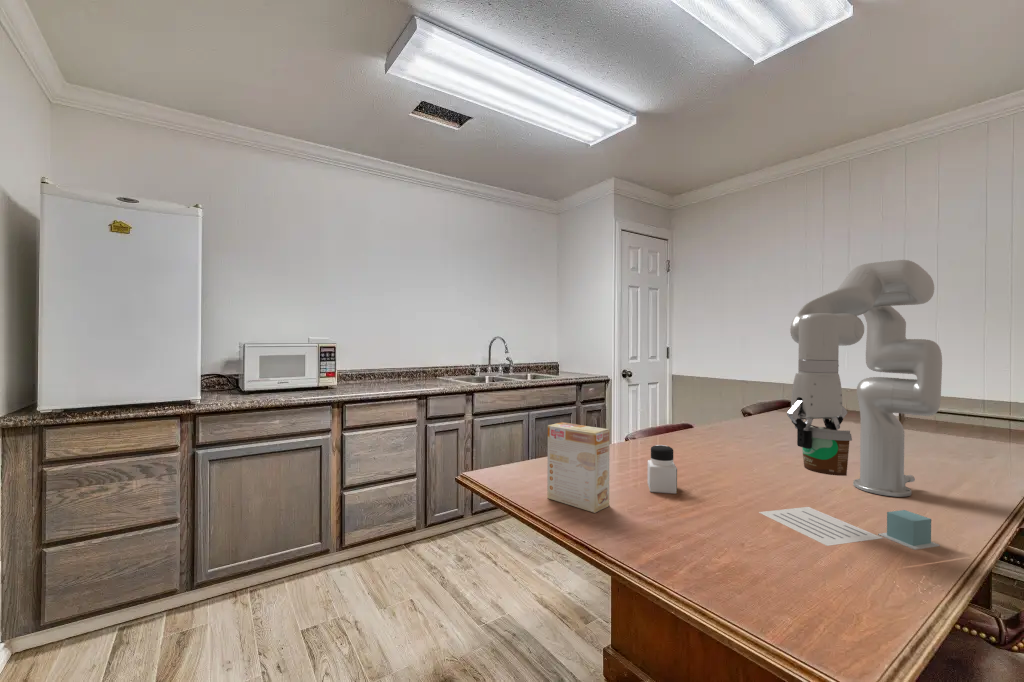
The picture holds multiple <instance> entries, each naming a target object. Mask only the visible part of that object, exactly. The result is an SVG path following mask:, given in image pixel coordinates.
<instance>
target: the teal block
mask: <svg viewBox="0 0 1024 682" xmlns="http://www.w3.org/2000/svg"><path fill="white" fill-rule="evenodd" d="M886 514H887V515H886V533H887V536H890V537H892V538H895V539H897V540H900V541H902V542H905V543H907V544H910V545H912V546H916V545H923V544H929V543H931V542H932V518H930V517H928V516H927V517H926V516H923V515H920V514H917V513H914V512H912V511H909V510H905V509H901V510H900V509H899V510H893V511H887V512H886Z"/></svg>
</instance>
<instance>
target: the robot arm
mask: <svg viewBox="0 0 1024 682" xmlns="http://www.w3.org/2000/svg"><path fill="white" fill-rule="evenodd" d="M934 293H935V283H934V280H933V277H932V276H931V275H930V274H929V273H928V271H926V270H925V269H924V268H923V267H922V266H921V265H919V264H918V263H916V262H914V261H912V260H909V259H898V260H896V259H894V260H887V261H877V262H869V263H863V264H860V265H857V266H856V267H854V268H852V270H850V272H849V273H848V274H847V276H846V277H845V279H844V280H843V281H842V282H841V284H840V285H839V287H837V289H836V290H833V291H830V292H828V293H826V294H824V295H822V296H819V297H817V298H815V299H812V300H811V301H808V302H806V303H805V304H804V305H803V306H802V307H801V308H800V309H799V310H798V311H797V313H796V314H795V316H794V318H793V320H792V321H791V324H790V328H789V331H790V336H791V339H792V340H793V341H794V342H795V343H797V344H798V359H797V360H798V368H797V369H798V372H797V373H795V376H794V379H793V383H792V390H791V397H790V399H791V400H790V409H789V410H788V411H787V413H786V415H787V416H788V418H789V419H790V421H791V423H792V424H793V425H794V428H795V429H796V431H797V433H796V437H797V440H796V441H797V443H796V444H797V447H800V448H802V447H803V448H807V449H811V448H812V431H809V429H810V427H811V425H812V424H813V421H814V419H815V420H818V419H821V420H822V421H823V423H824V427H826V428H831V429H833V430H840V429H841V424H842V422H843V421H844V419H845V417H846V416H847V414H848V410H847V409H846V408H845V407H844V406H843V390H842V383H841V382H842V381H841V377H840V374H839V367H840V365H839V364H840V363H839V346H842V347H843V346H851V345H856V344H857V343H859V342H860V341H861V340H862V338H863V336H864V333H865V325H864V323H863V321H862V320H861V318H860V317H859V316H862V315H863V316H864V319H865V322H866V340H865V341H866V342H865V343H866V344H865V364H866V367H867V368H868V369H869V370H871V371H873V372H878V373H887V374H888V373H889V374H902V375H903V374H907V375H915V376H916V378H915V379H913V378H899V377H885V376H872V377H866V378H864V379H861V380H860V381H859V382H858V384H857V386H856V397H857V403H858V407H859V408H858V409H859V416H860V441H859V442H860V445H859V447H860V451H859V456H860V457H859V461H860V462H859V464H860V465H859V466H860V467H859V472H860V473H859V478H856V479H854V480H852V481H853V482H852V484H853V486H854V487H855V488H857V489H859V490H861V491H863V492H867V493H870V494H875V495H878V496H885V497H897V498H903V497H910V496H911V495H912V490H911V489H910V487H908V486H906V484H907V483H914V482H915V480H916V479H915V477H914V476H913V475H912V474H908V475H907V474H905V428H904V425H903V424H902V423H901V421H900V420H899V419H898V418H897V416H896V415H895V414H905V415H912V416H922V417H923V416H925V417H926V416H927V417H930V416H934V415H936V414H937V413H938V412H939V410H940V406H941V399H942V376H943V373H942V371H943V356H942V350H941V348H940V345H939V344H938V343H937V342H935V341H933V340H930V339H922V338H921V339H919V338H914V339H913V338H909V339H908V338H906V337H907V335H906V332H907V330H906V329H907V322H906V319H905V317H904V316H903V315H902V314H901V313H900V312H899V311H898V310H896V309H895V308H894V307H893V306H913V305H914V306H915V305H916V306H917V305H923V304H926V303H928V302H929V301H930V300H931V299H932V298H933V296H934ZM804 420H805V421H806V422H805V421H804ZM804 422H805V423H804Z"/></svg>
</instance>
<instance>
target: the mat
mask: <svg viewBox="0 0 1024 682" xmlns="http://www.w3.org/2000/svg"><path fill="white" fill-rule="evenodd" d="M877 536H880V537H882V538H883V539H887V540H890V541H891V542H895V543H897V544H899V545H902V546H904V547H907V548H909V549H911V550H914V551H916V550H922V549H930V548H936V547H940V546H941V545H940V544H938V543H936V542H934V541H931V543H929V544H923V545H916V546H912V545H910V544H907V543H905V542H902V541H900V540H897V539H895V538H892V537H890V536H887V532H882V533H878V534H877Z"/></svg>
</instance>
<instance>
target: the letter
mask: <svg viewBox="0 0 1024 682" xmlns="http://www.w3.org/2000/svg"><path fill="white" fill-rule="evenodd" d="M758 513H759V514H761V515H763V516H765V517H767V518H769V519H771V520H774V521H775V522H777V523H780V524H782V525H783V526H786V527H788V529H789V528H790V529H791V530H794V531H796V532H798V533H799V534H802V535H804V536H806V537H809V538H810V539H812V540H814V541H816V542H818V543H820V544H822V545H824V546H826V547H827V546H835V545H843V544H849V543H850V544H851V543H860V542H864V541H873V540H874V541H875V540H880V539H883V537H882V536H879V535H878V534H874V533H872V532H870V531H868V530H865V529H863V528H861V527H858V526H855V525H853V524H851V523H849V522H846V521H843V520H842V519H839V518H836V517H834V516H831V515H829V514H827V513H825V512H822V511H819V510H818V509H815V508H812V507H810V506H805V507H804V506H803V507H795V508H786V509H785V508H784V509H776V510H768V511H767V510H766V511H765V510H764V511H758Z"/></svg>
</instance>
